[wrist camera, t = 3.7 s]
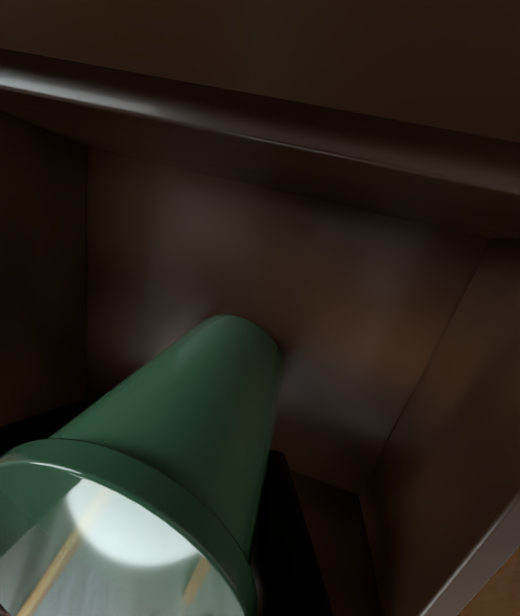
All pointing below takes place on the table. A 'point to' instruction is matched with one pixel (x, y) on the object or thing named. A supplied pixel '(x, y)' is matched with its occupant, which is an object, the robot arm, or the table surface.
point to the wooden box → (284, 299)
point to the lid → (303, 51)
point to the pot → (149, 487)
